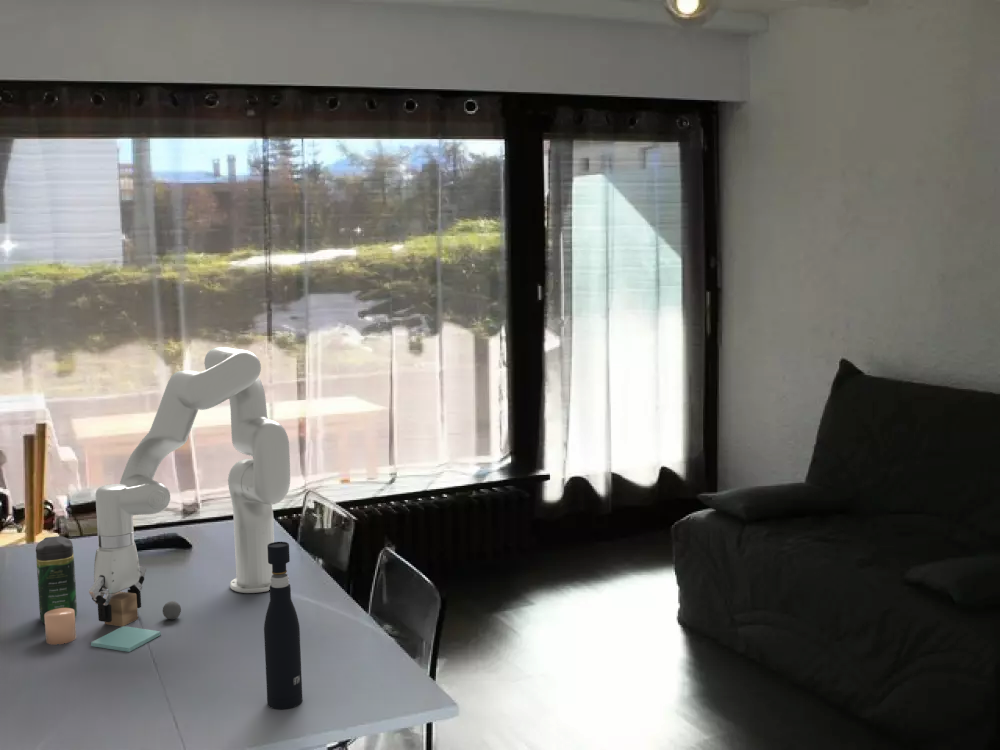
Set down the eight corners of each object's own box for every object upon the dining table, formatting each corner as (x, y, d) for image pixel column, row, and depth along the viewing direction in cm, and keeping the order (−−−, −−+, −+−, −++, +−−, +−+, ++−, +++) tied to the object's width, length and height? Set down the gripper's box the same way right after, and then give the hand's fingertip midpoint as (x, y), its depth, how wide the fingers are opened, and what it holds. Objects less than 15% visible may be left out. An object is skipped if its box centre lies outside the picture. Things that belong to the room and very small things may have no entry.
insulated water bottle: (269, 695, 198) (262, 540, 194) (304, 693, 199) (297, 538, 195) (265, 710, 192) (257, 550, 188) (300, 708, 192) (294, 548, 188)
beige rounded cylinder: (60, 632, 232) (58, 606, 231) (82, 636, 230) (80, 609, 229) (39, 642, 226) (37, 615, 225) (61, 646, 224) (60, 619, 223)
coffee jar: (78, 622, 238) (73, 542, 235) (40, 627, 235) (34, 546, 232) (77, 608, 247) (72, 531, 244) (40, 614, 244) (34, 535, 241)
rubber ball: (170, 614, 242) (169, 598, 241) (185, 616, 240) (184, 599, 240) (159, 620, 238) (158, 603, 238) (173, 622, 237) (172, 605, 236)
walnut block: (120, 616, 241) (118, 591, 241) (137, 619, 240) (136, 593, 239) (104, 624, 237) (103, 598, 236) (122, 626, 235) (121, 600, 234)
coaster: (123, 629, 233) (123, 626, 233) (160, 634, 229) (160, 631, 229) (91, 645, 224) (90, 642, 224) (129, 651, 220) (129, 648, 220)
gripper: (129, 528, 245) (132, 600, 247) (74, 549, 229) (79, 625, 231) (155, 531, 242) (159, 603, 245) (102, 552, 226) (106, 629, 228)
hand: (120, 614), depth 238 cm, fingers open, 9 cm apart
